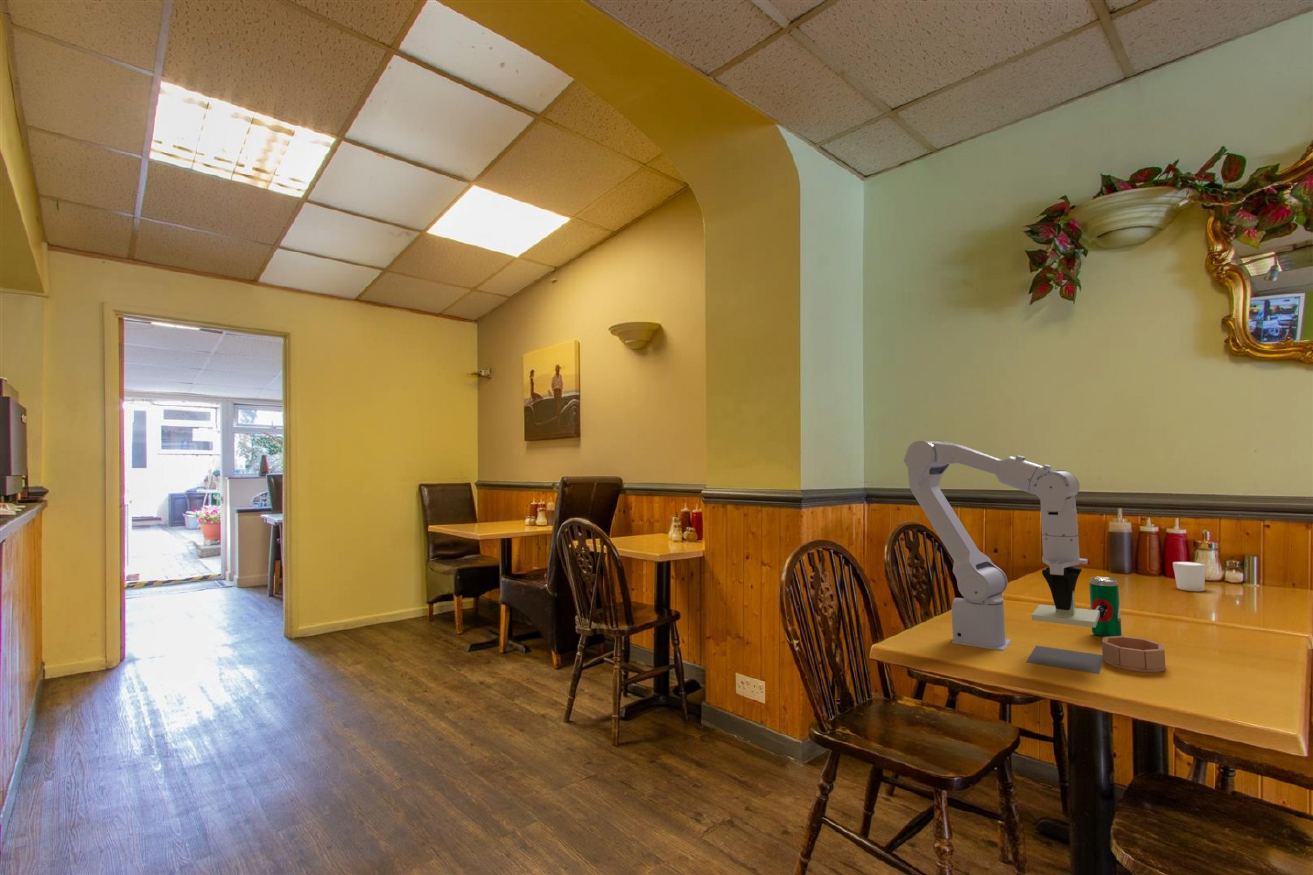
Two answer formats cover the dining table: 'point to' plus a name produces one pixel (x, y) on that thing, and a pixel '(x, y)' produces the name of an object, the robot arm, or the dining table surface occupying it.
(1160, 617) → the dining table surface
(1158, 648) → the bowl
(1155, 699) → the dining table surface
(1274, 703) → the dining table surface
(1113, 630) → the soda can
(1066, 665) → the mat
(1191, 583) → the white cup
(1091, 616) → the cover
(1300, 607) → the dining table surface
